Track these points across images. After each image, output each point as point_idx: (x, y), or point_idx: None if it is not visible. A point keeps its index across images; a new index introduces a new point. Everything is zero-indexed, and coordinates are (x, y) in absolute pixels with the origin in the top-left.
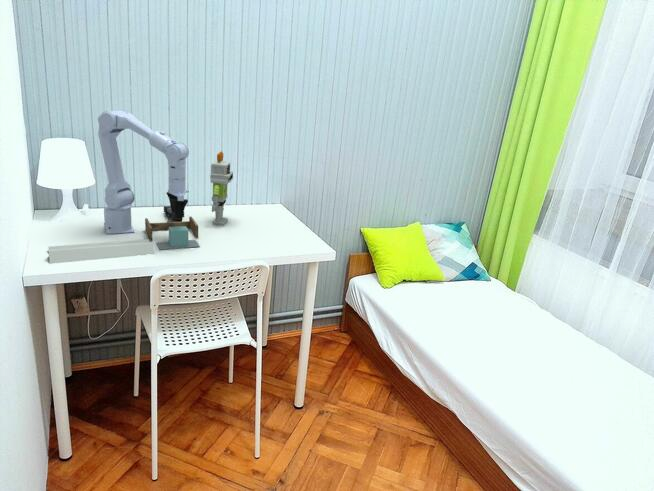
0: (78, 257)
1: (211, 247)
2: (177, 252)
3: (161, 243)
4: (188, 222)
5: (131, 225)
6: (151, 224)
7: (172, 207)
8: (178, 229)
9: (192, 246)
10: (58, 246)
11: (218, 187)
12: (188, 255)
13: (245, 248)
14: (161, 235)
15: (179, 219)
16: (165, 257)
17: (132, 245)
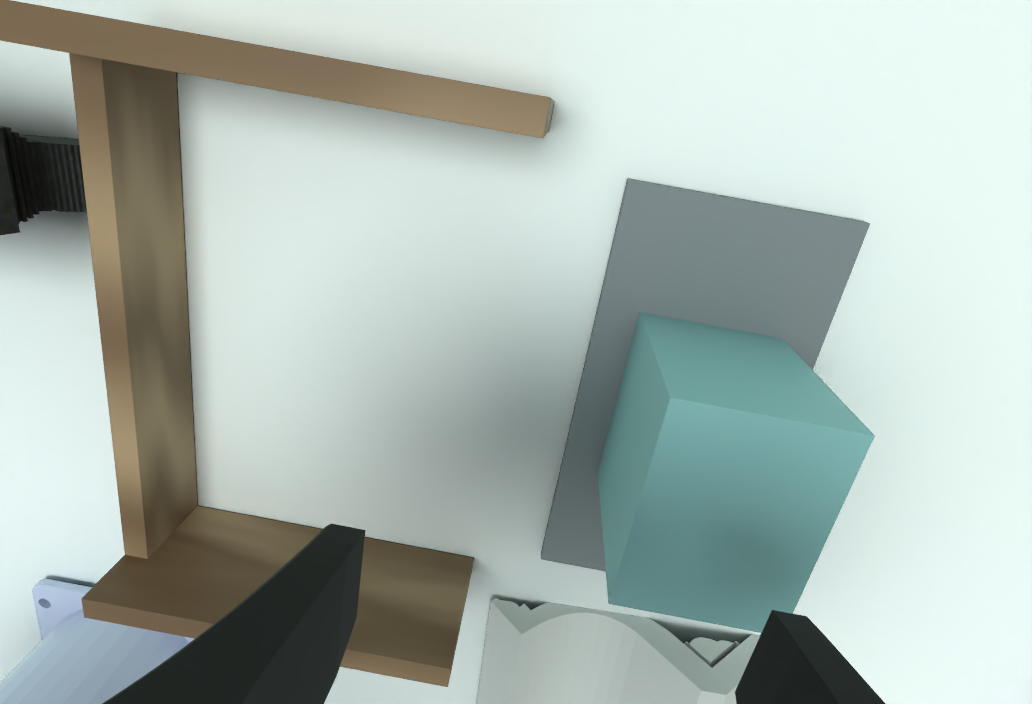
0: None
1: (955, 76)
2: (861, 482)
3: (591, 534)
4: (109, 77)
5: (50, 588)
6: (151, 522)
7: (315, 697)
8: (770, 542)
9: (825, 305)
10: None
11: None
12: (1003, 425)
13: None
14: (340, 441)
15: (6, 181)
16: (910, 603)
17: None
